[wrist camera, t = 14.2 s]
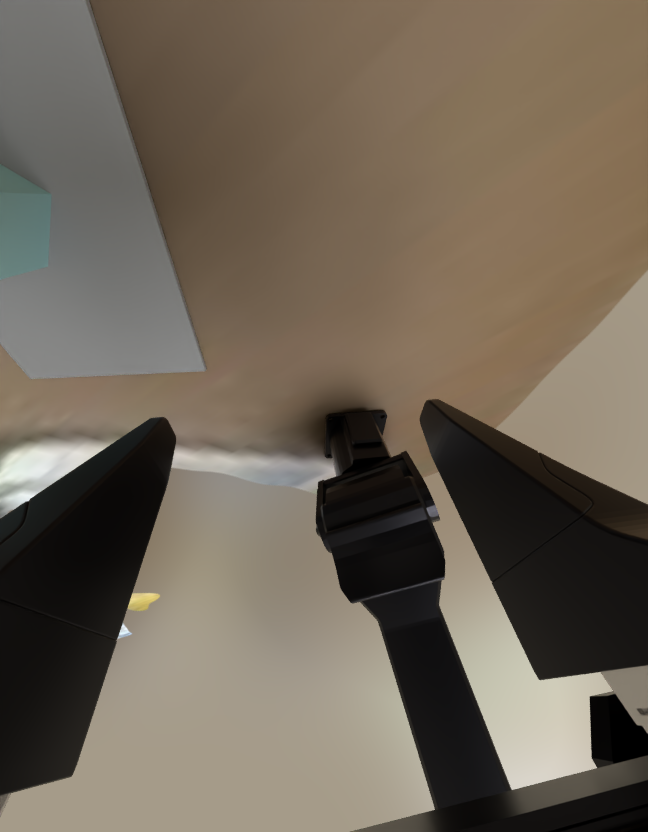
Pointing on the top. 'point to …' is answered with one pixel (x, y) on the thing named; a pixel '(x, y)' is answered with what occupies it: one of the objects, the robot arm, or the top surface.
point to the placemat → (83, 210)
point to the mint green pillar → (23, 225)
